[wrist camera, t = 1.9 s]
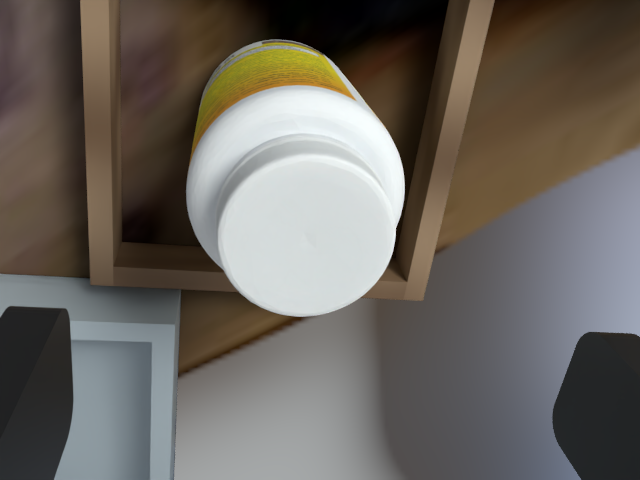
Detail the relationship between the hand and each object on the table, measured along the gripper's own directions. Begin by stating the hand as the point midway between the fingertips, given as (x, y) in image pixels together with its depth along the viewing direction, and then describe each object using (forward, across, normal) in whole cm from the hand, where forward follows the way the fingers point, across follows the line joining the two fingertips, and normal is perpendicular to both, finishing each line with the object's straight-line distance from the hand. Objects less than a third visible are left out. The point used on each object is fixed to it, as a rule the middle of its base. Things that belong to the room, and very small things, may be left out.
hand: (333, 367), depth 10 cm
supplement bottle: (+15, 0, 0) cm, 15 cm away
